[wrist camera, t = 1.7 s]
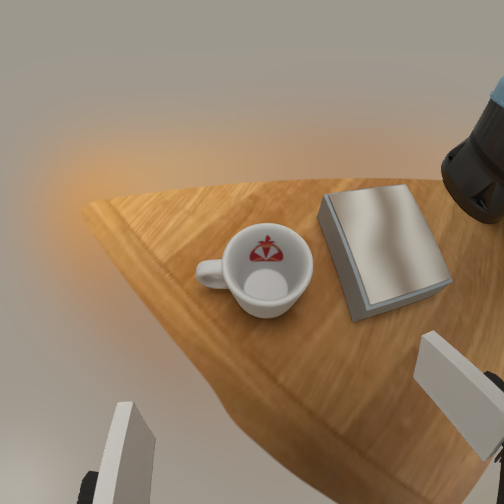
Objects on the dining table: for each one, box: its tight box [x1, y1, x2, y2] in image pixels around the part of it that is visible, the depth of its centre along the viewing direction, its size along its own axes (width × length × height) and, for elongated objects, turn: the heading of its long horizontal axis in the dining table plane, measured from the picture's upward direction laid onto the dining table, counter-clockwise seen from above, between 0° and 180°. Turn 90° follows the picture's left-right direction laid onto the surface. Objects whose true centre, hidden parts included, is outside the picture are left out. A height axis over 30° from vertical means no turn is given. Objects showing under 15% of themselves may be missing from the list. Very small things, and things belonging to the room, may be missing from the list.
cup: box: [196, 223, 313, 318], centre depth 28 cm, size 11×8×8 cm
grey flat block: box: [317, 184, 453, 322], centre depth 31 cm, size 12×14×5 cm
